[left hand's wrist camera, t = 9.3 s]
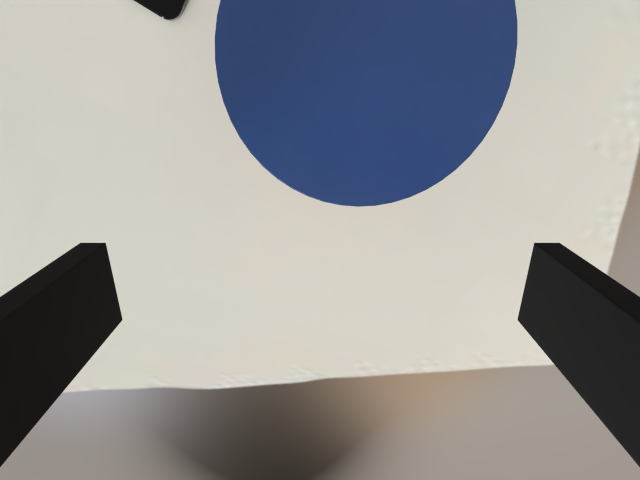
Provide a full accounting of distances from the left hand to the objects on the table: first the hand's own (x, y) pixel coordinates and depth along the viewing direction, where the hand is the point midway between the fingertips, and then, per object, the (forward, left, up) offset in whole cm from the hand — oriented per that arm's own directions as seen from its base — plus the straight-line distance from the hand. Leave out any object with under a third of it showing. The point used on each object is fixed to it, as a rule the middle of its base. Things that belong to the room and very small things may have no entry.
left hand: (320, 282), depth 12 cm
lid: (-2, +6, -6) cm, 9 cm away
